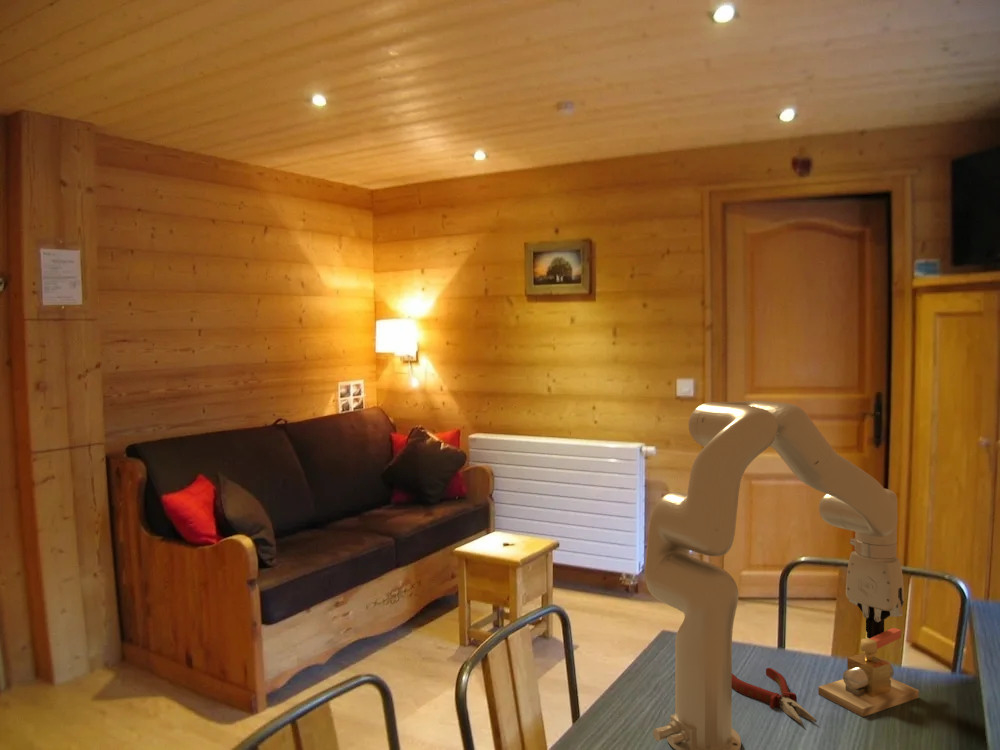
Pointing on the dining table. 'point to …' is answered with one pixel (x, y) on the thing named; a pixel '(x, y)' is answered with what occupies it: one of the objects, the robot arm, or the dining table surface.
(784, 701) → the pliers
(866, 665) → the valve body
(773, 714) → the dining table surface
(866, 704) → the mounting board
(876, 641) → the valve lever
